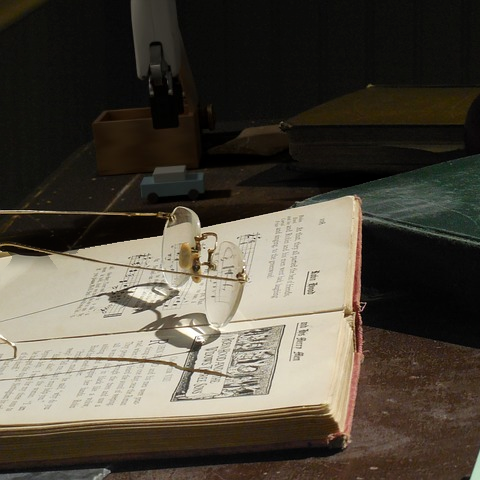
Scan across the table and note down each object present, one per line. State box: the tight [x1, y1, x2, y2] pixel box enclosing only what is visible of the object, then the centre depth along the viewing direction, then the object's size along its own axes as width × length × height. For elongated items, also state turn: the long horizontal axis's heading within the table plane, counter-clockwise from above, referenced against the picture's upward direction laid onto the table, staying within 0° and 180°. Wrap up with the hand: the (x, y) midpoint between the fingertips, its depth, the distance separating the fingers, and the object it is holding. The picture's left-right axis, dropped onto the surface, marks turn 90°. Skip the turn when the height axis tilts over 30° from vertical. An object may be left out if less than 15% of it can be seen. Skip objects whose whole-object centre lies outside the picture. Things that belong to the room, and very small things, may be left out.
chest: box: [91, 105, 203, 177], centre depth 144 cm, size 15×12×8 cm
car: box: [139, 165, 207, 204], centre depth 124 cm, size 8×5×4 cm, turn 94°
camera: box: [182, 91, 217, 151], centre depth 158 cm, size 16×7×8 cm, turn 1°
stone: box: [206, 124, 290, 157], centre depth 149 cm, size 11×16×3 cm
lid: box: [178, 25, 200, 113], centre depth 141 cm, size 16×12×1 cm
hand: (169, 121), depth 121 cm, fingers open, 9 cm apart
